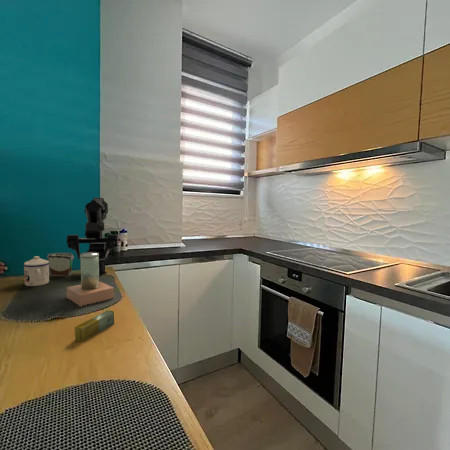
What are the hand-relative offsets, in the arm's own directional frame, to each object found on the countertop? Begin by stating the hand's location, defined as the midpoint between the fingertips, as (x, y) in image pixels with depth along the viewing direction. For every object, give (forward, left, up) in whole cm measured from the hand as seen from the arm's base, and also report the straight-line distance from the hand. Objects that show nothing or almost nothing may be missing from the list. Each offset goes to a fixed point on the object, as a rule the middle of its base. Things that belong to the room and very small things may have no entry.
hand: (91, 258), depth 108 cm
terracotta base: (+4, +6, -13) cm, 15 cm away
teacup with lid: (+12, -24, -14) cm, 30 cm away
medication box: (+14, +33, -14) cm, 39 cm away
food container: (-1, -34, -14) cm, 36 cm away
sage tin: (+4, +6, -9) cm, 12 cm away
